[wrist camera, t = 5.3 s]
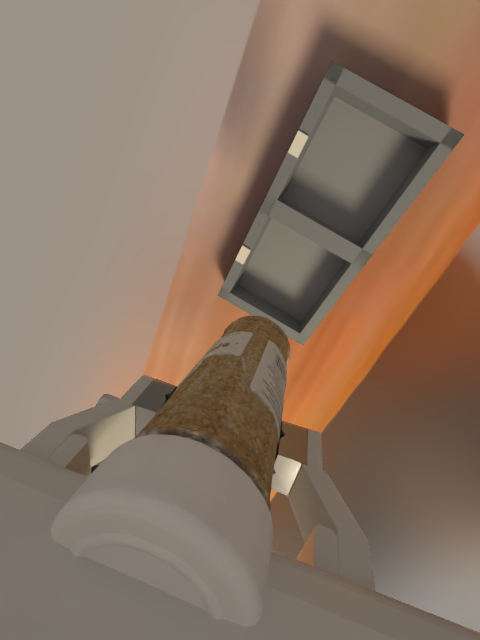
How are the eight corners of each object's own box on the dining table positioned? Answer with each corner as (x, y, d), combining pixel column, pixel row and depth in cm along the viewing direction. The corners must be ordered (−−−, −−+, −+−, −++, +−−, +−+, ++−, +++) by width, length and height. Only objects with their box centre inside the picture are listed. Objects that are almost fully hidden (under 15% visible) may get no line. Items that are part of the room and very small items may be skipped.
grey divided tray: (305, 330, 32) (303, 346, 29) (228, 285, 33) (217, 295, 29) (444, 142, 22) (465, 133, 19) (331, 78, 22) (332, 59, 19)
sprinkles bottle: (228, 306, 17) (30, 468, 5) (299, 324, 17) (291, 568, 4) (216, 370, 19) (37, 630, 6) (282, 389, 18) (234, 726, 5)
